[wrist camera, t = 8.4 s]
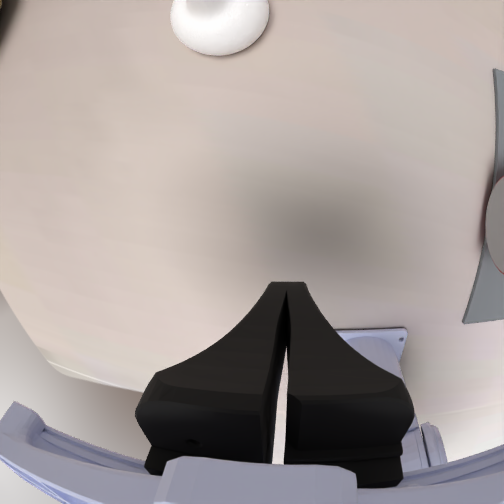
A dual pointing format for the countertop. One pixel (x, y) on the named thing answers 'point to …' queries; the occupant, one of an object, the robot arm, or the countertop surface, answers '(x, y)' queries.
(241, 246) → the countertop surface
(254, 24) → the garlic bulb
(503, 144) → the slate mat
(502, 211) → the canned food
